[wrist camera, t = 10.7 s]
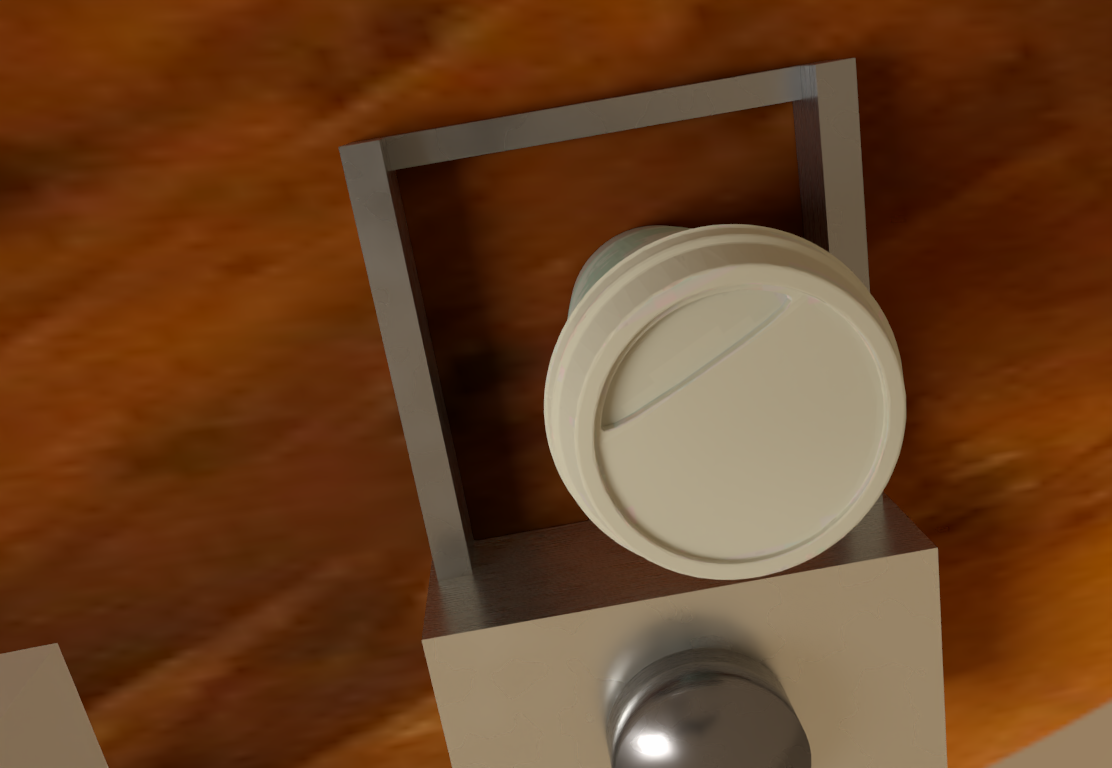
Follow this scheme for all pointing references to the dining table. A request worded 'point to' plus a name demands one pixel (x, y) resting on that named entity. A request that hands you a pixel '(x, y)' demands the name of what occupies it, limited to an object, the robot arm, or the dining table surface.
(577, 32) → the dining table surface
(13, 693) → the robot arm
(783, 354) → the coffee cup
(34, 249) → the dining table surface
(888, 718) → the button box with rail
